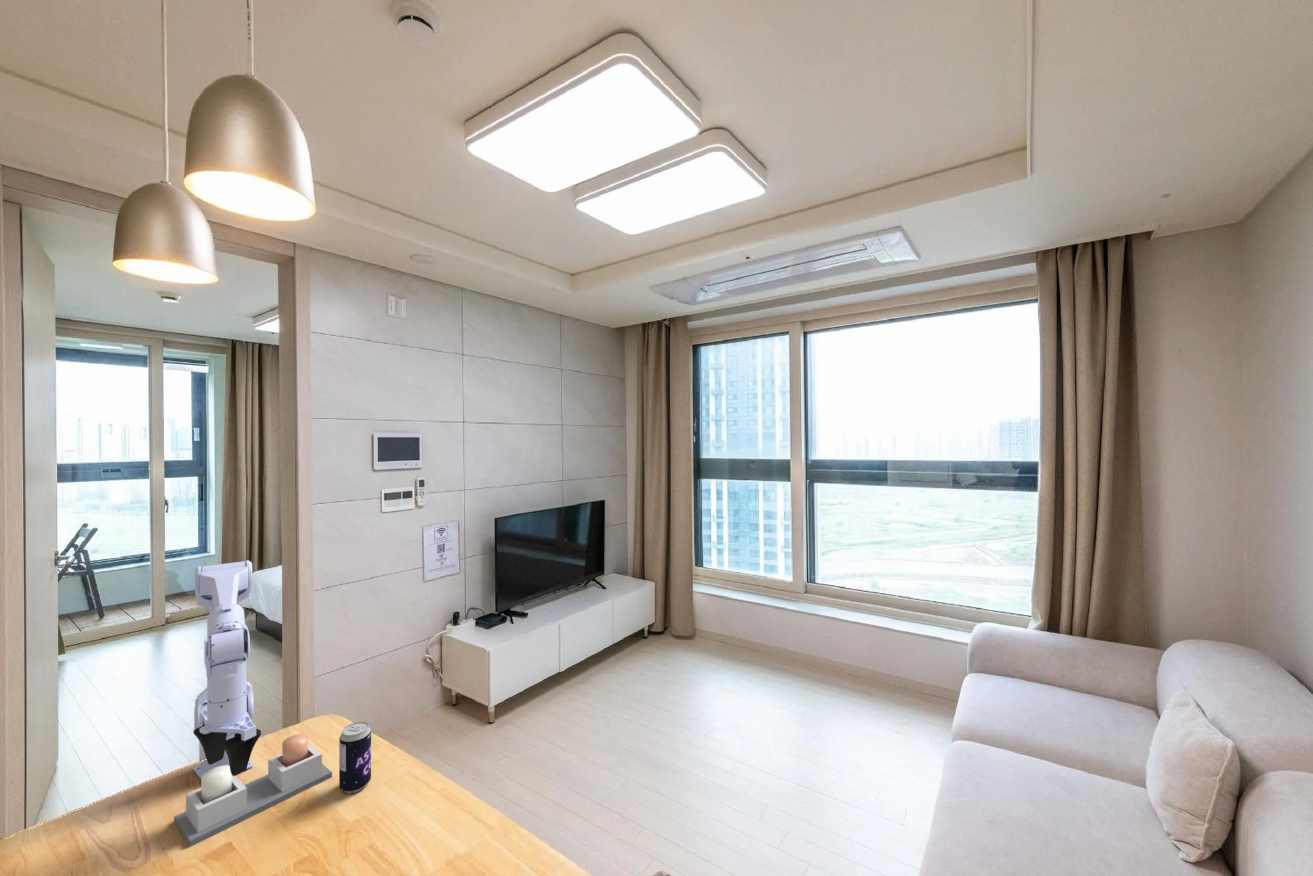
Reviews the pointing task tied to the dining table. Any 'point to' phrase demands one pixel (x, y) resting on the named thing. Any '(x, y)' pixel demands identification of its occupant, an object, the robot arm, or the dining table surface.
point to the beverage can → (355, 757)
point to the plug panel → (249, 797)
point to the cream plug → (216, 783)
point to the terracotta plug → (294, 749)
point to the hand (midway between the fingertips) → (227, 767)
